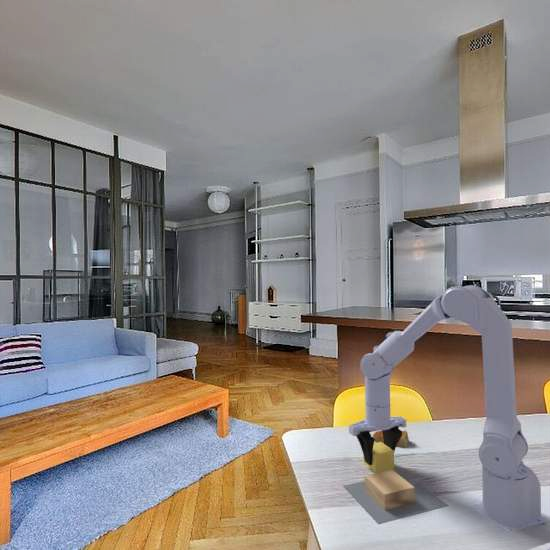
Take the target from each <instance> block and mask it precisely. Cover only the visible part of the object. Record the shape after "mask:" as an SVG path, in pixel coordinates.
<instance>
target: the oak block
mask: <svg viewBox="0 0 550 550" xmlns="http://www.w3.org/2000/svg"><path fill="white" fill-rule="evenodd" d="M398 474H399V473H398V472H396V471H394V470H390V471H385V472H380V473H372V474H367V475H364V481H365V491H366V492H367V493H368V494H369V495H370V496H371V497H372V498H373V499H374V500H375V501H376V502H377V503H378V504H379V505H380V506H381V507H382V508H383V509H384V510H387V509H391V508H395V507H399V506H403V505H407V504H411V503H415V487H414V486H412V485H411V484H410V483H409V482H407V481H406V480H405V479H403V478H402V477H401V476H400V475H398Z"/></svg>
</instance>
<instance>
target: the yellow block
mask: <svg viewBox="0 0 550 550" xmlns="http://www.w3.org/2000/svg"><path fill="white" fill-rule="evenodd" d="M363 464H364V465H366V467H368V468H369V469H370V470H371V471H372V472H373V473H374V474H376V473H381V472H385V471H390V470H393V471H394V470H395V451H393V450H392V449H391V448H389V447H388V446H386V445H385V444H384V443H382V442H378V443H377V442H374V445H373V461H372V465H369V464H367V463H366V462H365V459H364V458H363Z"/></svg>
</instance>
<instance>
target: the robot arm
mask: <svg viewBox="0 0 550 550" xmlns="http://www.w3.org/2000/svg"><path fill="white" fill-rule="evenodd" d="M451 318H452V319H454V320H457V321H460V322H462V323H465V324H467V325H468V326H469V327H471V328H472V329H474V330H475V331H476V332H477V333H478V334H479V335H480V336H481V349H482V350H481V351H482V365H483V366H482V367H483V383H484V387H483V388H484V400H485V401H484V402H485V403H484V404H485V421H484V422H485V423H484V427H483V431H482V434H483V435H482V436H483V440H482V443H481V444H480V446H479V448H478V457H479V461H480V462H481V465H482V466H481V472H482V473H481V474H482V477H481V479H482V483H481V484H482V502H480V503H477V504H472V505H471V507H472V508H473V509H474V510H476V511H477V512H478V513H480V514H482V515H483V516H484V517H486V518H487V519H489V520H490V521H491V522H493V523H494V524H495V525H497V526H498V527H500V528H501V529H502V530H504V531H506V532H507V533H511V532H515V531H517V530H518V531H519V530H521V529H522V530H523V529H525V528H528V527H531V526H534V525H537V524H538V525H539V526H540V525H543V524H546V522H547V520H546V519H545V517H543V516H542V503H541V502H542V499H541V497H542V496H541V495H542V494H541V493H542V492H541V490H542V489H541V482H540V480H539V478H538V476H537V475H536V473H535V471H533V470H532V468H530V467H529V466H527V465H526V464H524V462H523V460H524V458H525V456H526V455H527V454H528V451H529V445H528V442H527V439H526V437H525V436H524V434H523V432H522V423H521V422H520V420H519V419H518V411H517V398H516V397H517V395H516V379H515V363H514V362H515V361H514V360H515V358H514V343H513V327H512V323H511V320H510V319H508V318H509V317H508V316H507V315H506V314H505V312H503V310H502V308H501V307H500V306H499V304H498V303H497V302H496V301H495V297H494V296H493V294H491V293H490V292H488V291H487V290H486V289H483V288H482V287H480V286H478V285H474V284H470V285H465V286H459V285H457V286H456V285H455V286H452V287H449V288H447V289H446V290H445V291H444V292H443V294H440V295H439V296H437V297H435V298H434V299H433V300H432V302H430V303H429V305H428V306H427V307H426V308H424V309H423V311H422V312H421V313H420V314H419V315H418V316H417V317H416V318H415V319H414V320H413V321H412V322H411V323H410V324H409V325H408V326H407V327H406V328H405V329H404V330H403V331H401V330H394V331H391V332H388V333H387V334H386V335H385V337H386V339H384V340H383V342H381V343H380V344H379V345H375V346H374V347H373V348H372V349H373V351H372V353H367V354H366V353H365V354H364V355H363V357H362V358H361V359H360V363H359V368H360V372H361V373H362V374H363V376H364V391H365V392H364V399H365V408H364V410H365V418H364V419H362V420H359V421H357V422H354V423H351V424H348V433H349V434H350V435H351V436H353V437H356V438H357V440H358V442H359V445H360V448H361V451H362V454H363V460H364V459H365V462H366V463H367V464H369V465H372V461H373V445H374V443H375V439H374V438H373V435H372V434H371V433H372V432H373V433H374V432H377V431H382V433H383V439H384V444H385V445H386V446H388V447H389V448H391V449H392V450H393V451H394V452H395V451H396V448H397V446H396V445H397V443H398V441H399V439H400V438H401V436H402V431H403V430H401V429H400V427H401V428H404V429H405V428H407V419H406V418H404V417H403V416H391V382H390V381H391V374H392V373H393V372H394V370H395V367H397V366H398V364H400V363H401V362H402V361H403V360H404V359H405V358H407V357H408V356H409V355H410V354H411V353H413V352H414V350H415V342H416V341H417V340H419V339H420V338H422V337H423V335H425V334H426V333H427V332H429V331H430V330H431V329H433V327H434V326H436V325H437V324H438V323H440V322H441V321H443V320H448V319H451Z"/></svg>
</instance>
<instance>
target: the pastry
mask: <svg viewBox="0 0 550 550" xmlns="http://www.w3.org/2000/svg"><path fill="white" fill-rule="evenodd" d="M401 431H402V436H401V438H400V439H399V441H398V443H397V445H396V447H401V448H407V447H408V442H410V439H409V435H408V431H407V430H406V429H405V430H401ZM372 437H373V438H374V439H375V441H374V443H378V442H382V443H384V439H383V433H382V430H378V431H374V432H373V434H372Z"/></svg>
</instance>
